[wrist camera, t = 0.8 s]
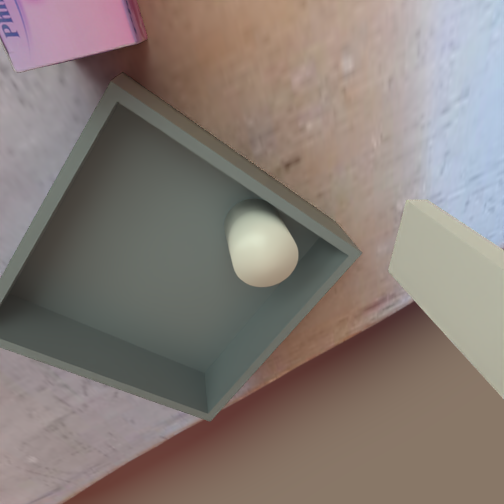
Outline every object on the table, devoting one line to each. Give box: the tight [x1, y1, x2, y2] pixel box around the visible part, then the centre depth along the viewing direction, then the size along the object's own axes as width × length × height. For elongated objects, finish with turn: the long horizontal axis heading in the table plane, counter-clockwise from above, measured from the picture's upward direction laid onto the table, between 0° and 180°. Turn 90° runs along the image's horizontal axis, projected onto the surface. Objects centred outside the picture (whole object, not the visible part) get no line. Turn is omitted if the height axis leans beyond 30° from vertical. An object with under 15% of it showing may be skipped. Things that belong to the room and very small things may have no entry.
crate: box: [0, 72, 362, 421], centre depth 33 cm, size 22×22×6 cm
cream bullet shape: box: [224, 199, 298, 287], centre depth 32 cm, size 5×5×6 cm
